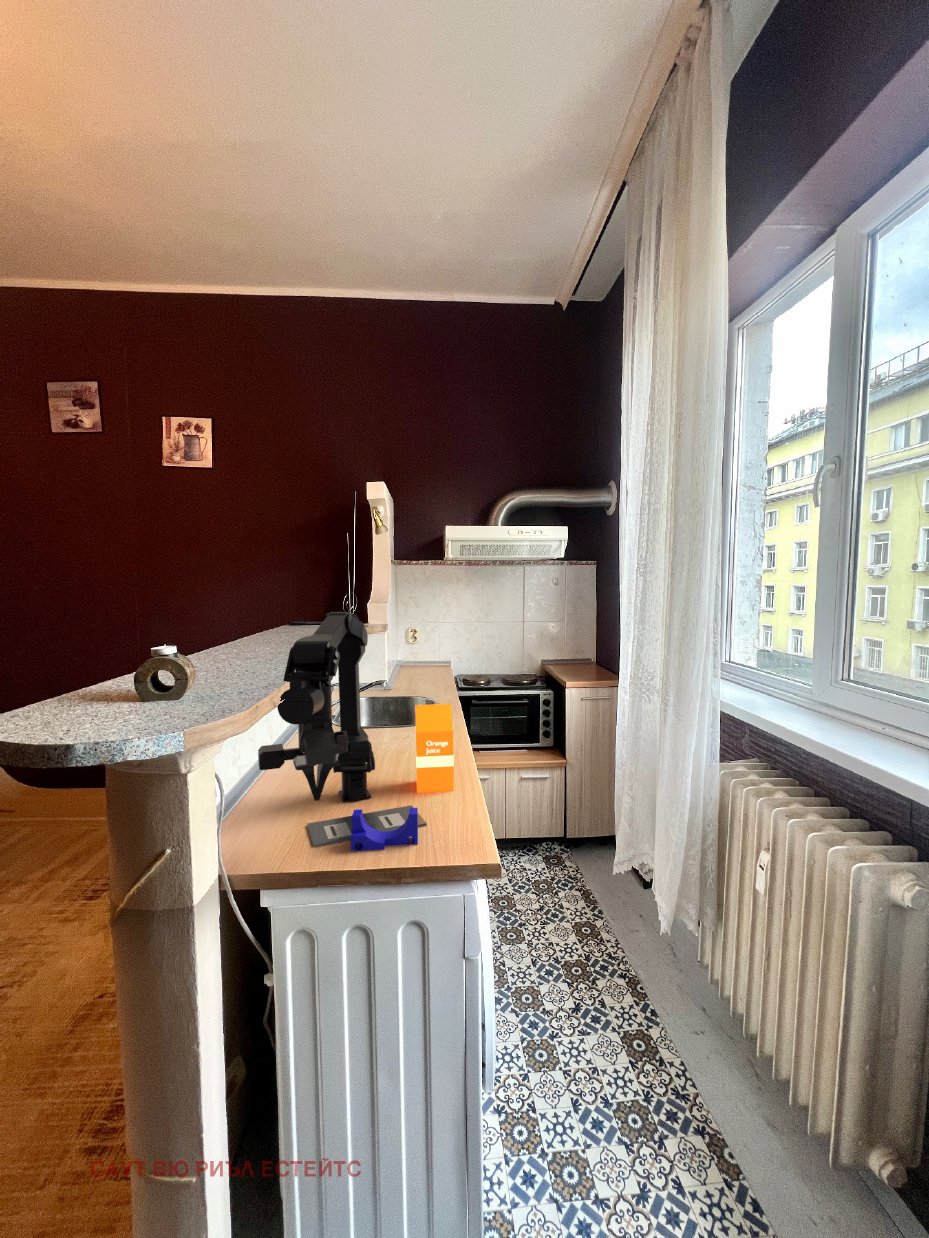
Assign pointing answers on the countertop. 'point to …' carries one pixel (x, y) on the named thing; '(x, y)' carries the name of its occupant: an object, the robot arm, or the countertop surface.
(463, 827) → the countertop surface
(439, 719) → the orange juice
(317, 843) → the plate
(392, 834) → the blue cradle bracket
